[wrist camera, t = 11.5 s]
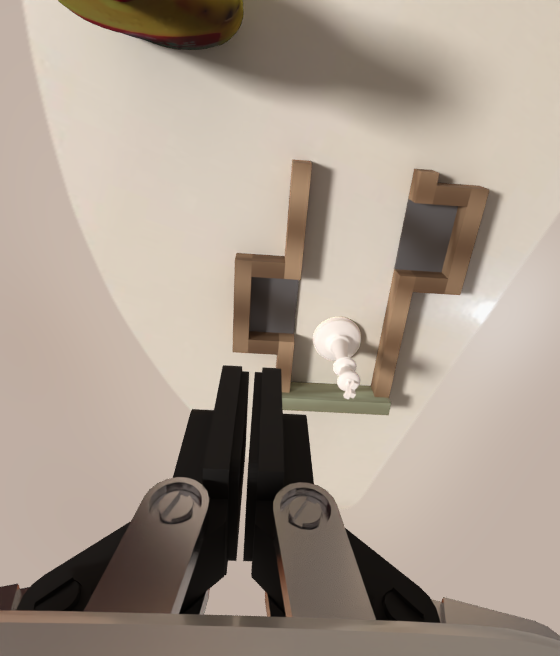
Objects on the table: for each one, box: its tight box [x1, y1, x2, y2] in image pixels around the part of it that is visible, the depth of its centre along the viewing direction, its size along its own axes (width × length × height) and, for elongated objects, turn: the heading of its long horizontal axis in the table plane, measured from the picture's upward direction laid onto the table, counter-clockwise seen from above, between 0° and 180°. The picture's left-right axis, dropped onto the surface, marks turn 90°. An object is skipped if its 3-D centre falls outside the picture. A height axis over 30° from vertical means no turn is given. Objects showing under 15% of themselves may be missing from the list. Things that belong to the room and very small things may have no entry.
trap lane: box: [233, 160, 489, 415], centre depth 41 cm, size 24×21×3 cm
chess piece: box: [313, 317, 361, 399], centre depth 40 cm, size 5×5×10 cm
